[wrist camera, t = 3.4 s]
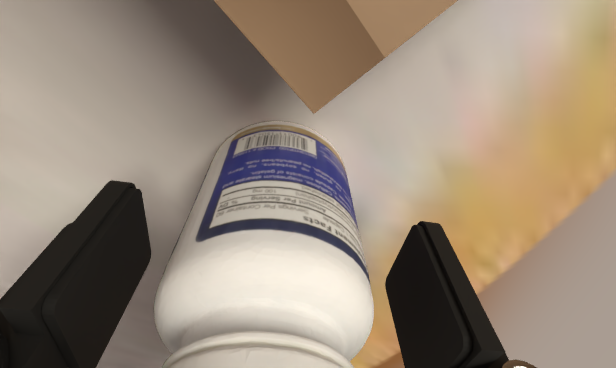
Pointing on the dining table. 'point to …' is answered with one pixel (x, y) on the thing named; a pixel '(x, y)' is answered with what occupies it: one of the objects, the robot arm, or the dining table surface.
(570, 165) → the dining table surface
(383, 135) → the dining table surface
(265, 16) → the well
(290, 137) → the pill bottle
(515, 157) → the dining table surface
